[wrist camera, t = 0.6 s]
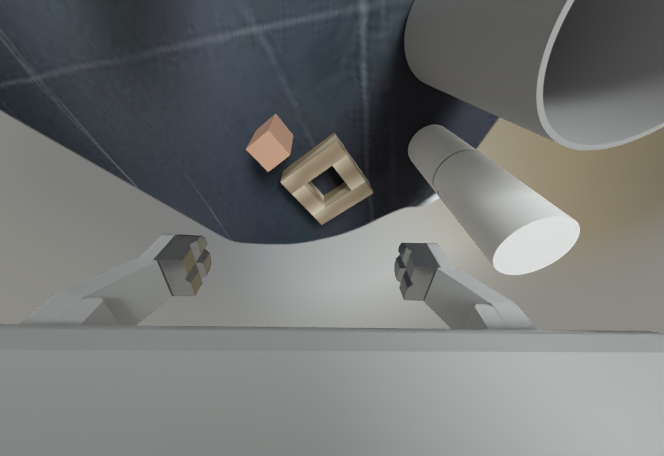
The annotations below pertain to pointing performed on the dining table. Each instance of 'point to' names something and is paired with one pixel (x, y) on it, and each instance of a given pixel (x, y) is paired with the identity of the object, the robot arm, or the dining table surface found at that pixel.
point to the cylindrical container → (492, 204)
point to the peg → (271, 143)
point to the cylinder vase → (547, 63)
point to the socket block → (313, 165)
